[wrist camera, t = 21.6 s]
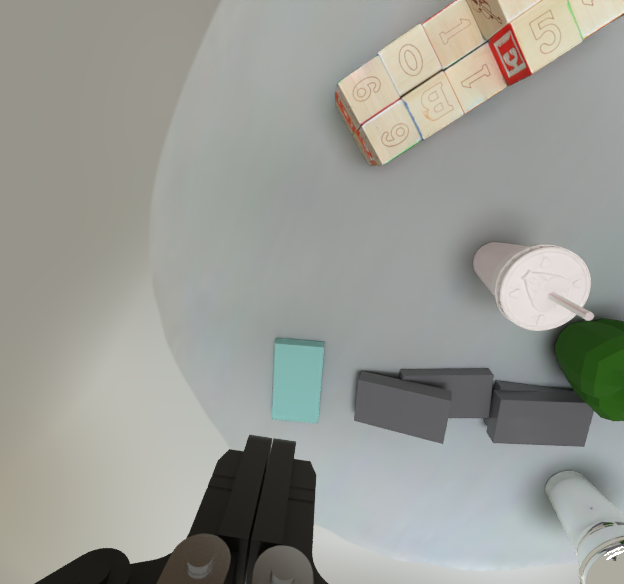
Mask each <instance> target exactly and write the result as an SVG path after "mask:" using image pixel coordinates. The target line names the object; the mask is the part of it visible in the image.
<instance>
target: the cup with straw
mask: <svg viewBox="0 0 624 584" xmlns="http://www.w3.org/2000/svg"><path fill="white" fill-rule="evenodd" d="M545 492H546V494H547V496H548V497H549V498H550V502H551V505H552V507H553V509H554V510H555V512H556V514H557V516H558V518H559V520H560V522H561V524H562V526H563V528H564V530H565V532H566V534H567V536H568V538H569V540H570V542H571V544H572V546H573V548H574V551H575V555H576V557H577V559H578V563H579V566H580V568H579V582H580V584H624V515H623V514H622V513H621V512H620V511H619V510H618V509H617V508H616V507H615V506H614V505H613V504H612V503H611V502H610V501H609V500H608V499H607V498H606V497H605V496H604V495H603V494H602V493H600V492H599V491H598V490H597V489H596V488H595V487H594V486H593V485H592V484H591V483H590V482H589V481H587V480H586V479H585V477H584V476H583V475H582V474H580V473H578V472H575V471H562V472H559V473H557V474H555V475H553V476H552V477H551V478H550V479H549V480H548V482H547V483H546V486H545Z"/></svg>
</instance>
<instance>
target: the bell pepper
mask: <svg viewBox="0 0 624 584" xmlns="http://www.w3.org/2000/svg"><path fill="white" fill-rule="evenodd" d="M555 352H556V356H557V360H558V362H559V364H560V366H561V368H562V370H563V372H564V374H565V376H566V378H567V380H568V382H569V383H570V385H571V386H572V388H573V390H574V391H575V393H576V394H577V395H578V396H579V397H580V398H581V399H582V400H584V401H585V402H586V403H587V404H588V405H589V406H590V407H591V408H592V409H593V410H594V411H595V412H596V413H597V414H598V415H599V416H600V417H601V418H605V419H608V420H612V421H624V322H622V321H617V320H611V319H600V320H596V321H583V322H577V323H572V324H570V325H569V326H568V327H566V328H565V329H564V330H563V331H562V332H561V333H560V335H559V337H558V339H557V342H556V344H555Z"/></svg>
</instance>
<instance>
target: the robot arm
mask: <svg viewBox="0 0 624 584" xmlns="http://www.w3.org/2000/svg"><path fill="white" fill-rule="evenodd" d="M271 444H272V438H268V437H261V436H254V435H249V437H248V440H247V443H246V446H245V450H244V452H243V451H237V450H230V449H229V450H228V451H227V452H226V453H225V454H224V455H223V456H222V457H221V458H220V459H219V460H218V462H217V464H216V467H215V469H214V472H213V475H212V477H211V479H210V482H209V485H208V488H207V490H206V492H205V495H204V497H203V500H202V502H201V505H200V507H199V510H198V512H197V515H196V517H195V520H194V522H193V525H192V527H191V530H190V533H189V534H188V536H187V538H186V539H185V540H183V541H182V542H181V543H180V544H179V545H178V546H177V547H176V548H175V549H174V551H173V552H172V553H170V554H168V555H167V556H165V557H162V558H159V559H156V560H151V561H145V562H139V563H134V564H130V563H129V560H128V558H127V557H126V555H125V554H124V553H122V552H121V551H119V550H117V549H112V548H102V549H97V550H93V551H91V552H88V553H86V554H84V555H82V556H81V557H79V558H77V559H75V560H74V561H72V562H70V563H69V564H67V565H65V566H63V567H62V568H60V569H58V570H57V571H55V572H53V573H52V574H50V575H48V576H47V577H45V578H43V579H42V580H40V581H38V582H37V583H35V584H328V583H327V582H326V581H325V580H324V579H323V578H322V577H321V576H320V574H319V573H318V571H317V569H316V568H315V565H314V563H313V557H312V543H313V525H314V506H315V505H314V503H315V487H316V474H315V471H314V469H313V467H312V464H311V462H310V461H304V460H297V459H294V453H295V446H296V442H295V441H288V440H282V439H275V438H274V439H273V444H272V448H271ZM270 452H271V453H270Z"/></svg>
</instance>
